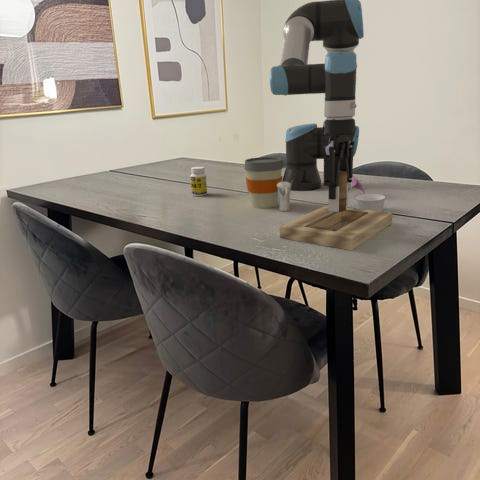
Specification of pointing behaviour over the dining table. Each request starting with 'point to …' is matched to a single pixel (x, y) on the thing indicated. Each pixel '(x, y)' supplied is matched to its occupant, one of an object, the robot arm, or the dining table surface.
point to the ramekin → (370, 202)
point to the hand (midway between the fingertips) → (337, 208)
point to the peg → (342, 190)
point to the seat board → (343, 236)
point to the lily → (356, 184)
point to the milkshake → (284, 195)
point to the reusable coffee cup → (263, 180)
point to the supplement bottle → (198, 181)
